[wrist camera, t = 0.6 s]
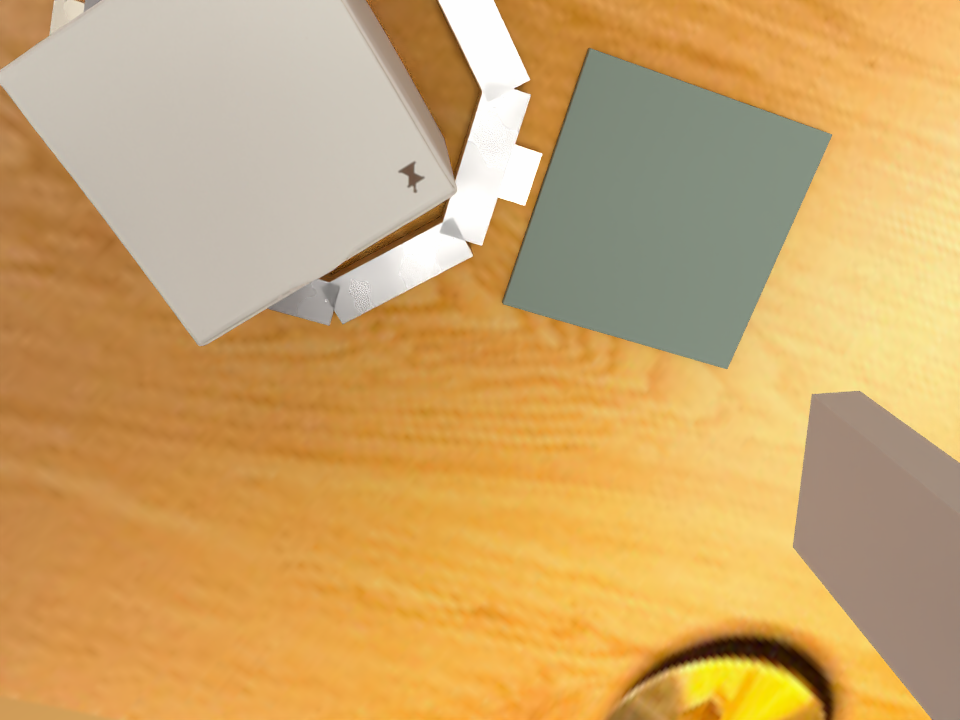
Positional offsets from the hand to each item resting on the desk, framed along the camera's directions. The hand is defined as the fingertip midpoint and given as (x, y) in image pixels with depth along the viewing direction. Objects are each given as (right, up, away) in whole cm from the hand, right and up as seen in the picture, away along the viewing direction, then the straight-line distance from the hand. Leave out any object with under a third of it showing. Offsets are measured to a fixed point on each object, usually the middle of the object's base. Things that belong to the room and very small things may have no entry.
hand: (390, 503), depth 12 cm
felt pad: (+10, +9, +26) cm, 29 cm away
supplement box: (-6, +13, +23) cm, 27 cm away
